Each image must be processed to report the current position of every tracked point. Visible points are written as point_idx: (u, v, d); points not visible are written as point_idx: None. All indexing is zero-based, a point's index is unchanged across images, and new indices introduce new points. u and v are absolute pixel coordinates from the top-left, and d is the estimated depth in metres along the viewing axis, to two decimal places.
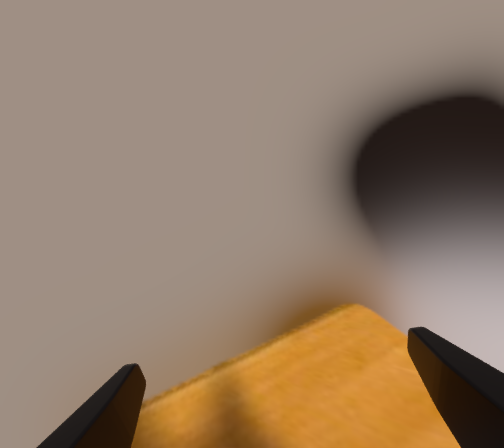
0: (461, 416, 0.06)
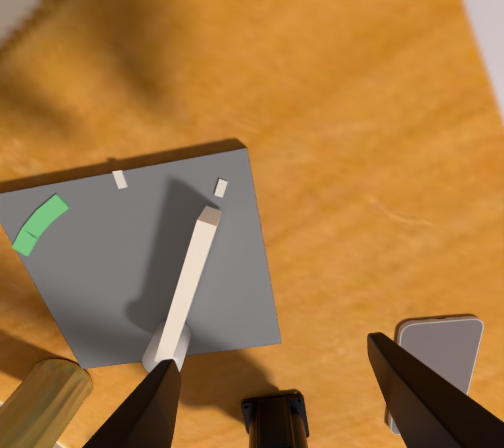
0: (407, 421, 0.06)
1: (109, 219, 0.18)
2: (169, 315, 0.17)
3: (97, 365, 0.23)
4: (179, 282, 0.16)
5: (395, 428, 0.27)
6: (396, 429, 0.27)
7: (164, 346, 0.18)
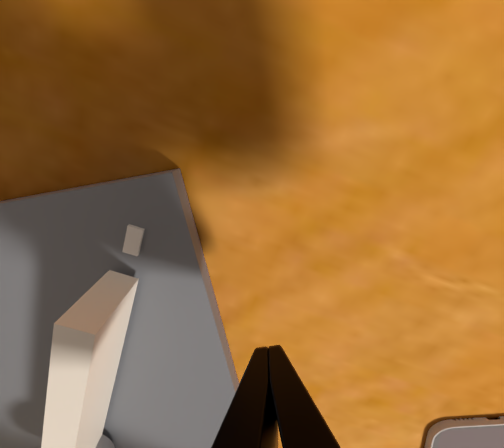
0: None
1: None
2: None
3: None
4: (47, 421, 0.09)
5: None
6: None
7: None
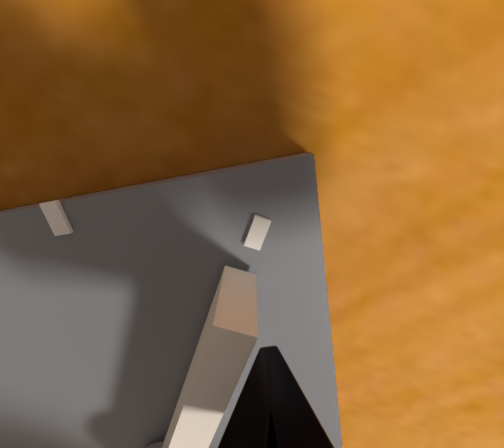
0: None
1: (44, 289, 0.10)
2: None
3: None
4: (175, 437, 0.08)
5: None
6: None
7: None
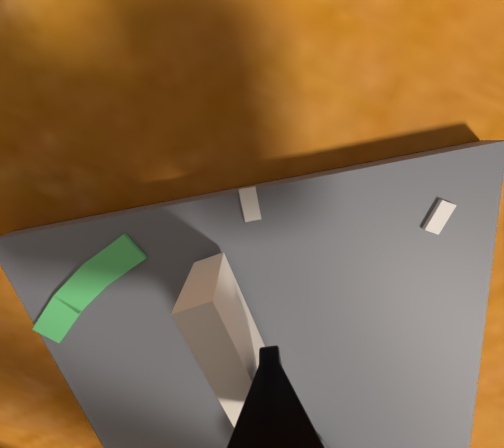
0: None
1: None
2: None
3: None
4: None
5: None
6: None
7: None
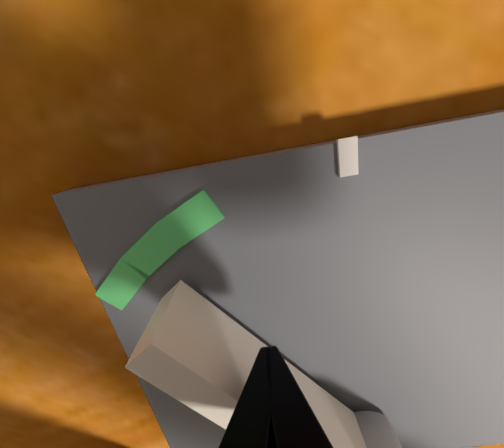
0: None
1: (299, 240, 0.09)
2: None
3: None
4: None
5: None
6: None
7: None
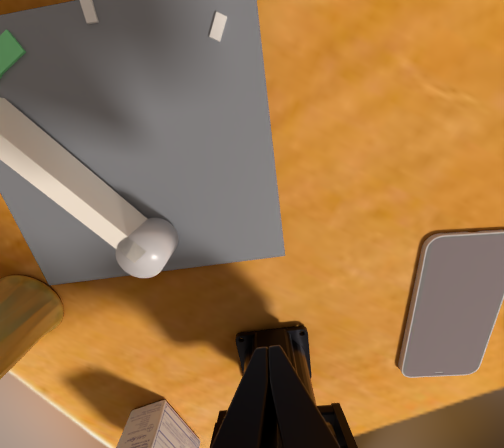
0: None
1: (76, 72, 0.15)
2: (70, 212, 0.14)
3: (67, 280, 0.20)
4: (24, 176, 0.14)
5: (407, 369, 0.24)
6: (408, 371, 0.24)
7: (115, 241, 0.15)
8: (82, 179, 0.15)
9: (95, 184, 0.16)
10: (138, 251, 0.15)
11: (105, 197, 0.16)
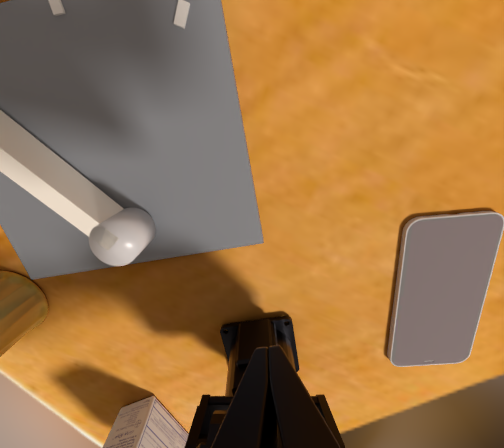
0: None
1: (47, 64, 0.15)
2: (41, 200, 0.14)
3: (49, 273, 0.20)
4: None
5: (396, 358, 0.24)
6: (397, 360, 0.24)
7: (87, 229, 0.15)
8: (55, 169, 0.15)
9: (69, 174, 0.16)
10: (111, 238, 0.15)
11: (78, 186, 0.16)
